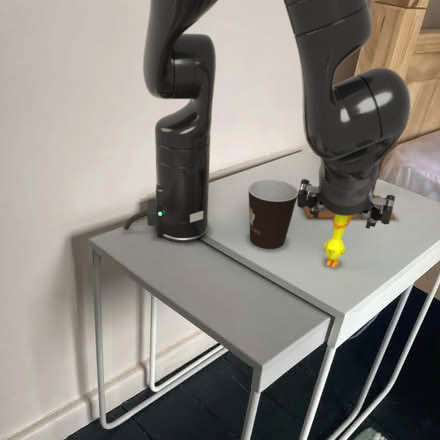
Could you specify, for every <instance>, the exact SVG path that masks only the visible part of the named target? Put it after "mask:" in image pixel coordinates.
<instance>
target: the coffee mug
mask: <svg viewBox="0 0 440 440" xmlns="http://www.w3.org/2000/svg"><path fill="white" fill-rule="evenodd" d="M298 192H299V189H297V188H296V187H295V186H294V185H292V184H291V183H288V182H286V181H281V180H275V179H263V180H257V181H254V182H252V183H251V184H249V186H248V212H249V213H248V217H249V241H250V243H251V244H252V245H253V246H255V247H257V248H260V249H263V250H277V249H280V248H281V247H284V245H285V243H286V239H287V236H288V232H289V228H290V226H291V225H290V224H291V221H292V217H293V214H294V210H295V206H296V203H297V200H298Z"/></svg>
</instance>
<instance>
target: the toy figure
mask: <svg viewBox="0 0 440 440" xmlns="http://www.w3.org/2000/svg"><path fill="white" fill-rule="evenodd" d="M351 217H352V216H351V215H348V216H343V215H337V214H335V217H334V218H333V219H332V224H333V225H332V237H331V238H329V239H328V240H327V241H325V242H324V244H323V250H324V252H325V254H326V257H327V260H326V266H328V267H329V266H331V268H335V267H337V266H338V265H339V258H340V257H342V256H344V255H345V253H346V250H347V248H346V247H345V243H344V241H343V240H342V239H343V235H344V234H345V231H346V228H347V227H348V226H349V224H350V222H351V220H352V219H351Z"/></svg>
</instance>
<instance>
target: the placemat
mask: <svg viewBox="0 0 440 440" xmlns="http://www.w3.org/2000/svg"><path fill="white" fill-rule="evenodd" d="M375 197H376V198H380V199H382V197H381V196H380V195H375ZM302 209H303V211H304V213H305V216H306V218H307V219H308V220H333V218H334V217H335V213H332V212H331V211H326V212H321V211H320V212H319V216H318V218H314V217H313V215H312V214H310V210H309V207H307V206H305V208H302ZM351 216H352V217H351V220H360V219H359V218H358V217H356V216H355V215H351ZM393 220H396V217H395V215H394V214H393V212H392V213H391V218H390V221H393Z"/></svg>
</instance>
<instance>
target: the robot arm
mask: <svg viewBox="0 0 440 440" xmlns="http://www.w3.org/2000/svg"><path fill="white" fill-rule="evenodd" d="M149 1H150V2H149V3H150V4H149V13H148V21H147V27H146V34H145V41H144V49H143V56H142V74H143V81H144V84H145V87H146V89H147V91H148V93H149V95H151V96H152V97H154V98H157V99H159V100H189V101H188V102H187V103H186V105H184V106H183V107H182V108H180V109H179V110H177V111H175V112H173V113H171V114H167V115H165V116H163V117H161V118H160V119H159V120H157V122H155V127H154V142H155V143H154V144H155V145H154V146H155V175H156V177H155V179H156V184H155V199H154V198H153V199H149V198H148V202H147V209H146V210H144V211H142V212H138V213H135V214H134V215H132V216H131V217H129V218H128V219H127V221H126V222H125V224H124V225H123V229H124V230H126V231H128V230H129V228H130V227H131V226H132V224H133V223H134V222H135V221H138V220H139V219H141V218H144V217H147V226H149V227H150V226H154V227H156V236H157V238H159V239H161V238H162V239H166V240H168V241H172V242H175V243H190V242H195V241H198V240H200V239H202V238H204V237H205V236H206V235H207V234H208V231H209V229H208V228H209V225H208V223H209V220H208V219H209V218H208V215H209V193H210V192H209V190H210V189H209V188H210V163H211V162H210V161H211V159H210V158H211V137H212V136H211V135H212V134H211V132H212V123H213V121H212V120H213V119H212V118H213V105H214V104H213V103H214V94H215V93H214V92H215V84H216V83H215V82H216V72H217V71H216V70H217V67H216V66H217V55H216V48H215V44H214V41H213V40H212V38H211V37H210V36H209V35H207V34H204V33H203V34H202V33H185V32H186V31H187V30H189V29H190V28H191V27H192V26H193V25H195V24H196V23H197V22H198V21H199V20H200V19H202V18H203V17H204V16H205V15H206V14H207V13H209V11H210V10H211V9H212V8H213V7H214V6H215V5H216V4H217V2H218V1H219V0H149ZM282 2H283V4H284V7H285V12H286V15H287V17H288V21H289V24H290V27H291V28H290V29H291V31H292V34H293V38H294V41H295V45H296V48H297V53H298V54H297V55H298V60H299V66H300V75H301V90H302V91H301V92H302V93H301V94H302V97H301V98H302V99H301V100H302V101H301V102H302V104H301V105H302V126H303V127H302V128H303V134H304V136H305V140H306V142H307V145H308V146H309V148H310V149H311V151H312V152H313V153H314V154H315V155H316V156H317V157H318V158H320V164H319V168H318V186H315V185H313V184H312V183H310V180H309V179H306V178H303V179H302V178H301V181H300V185H299V188H298V196H297V200H296V203H297V207H298V208H300V209H301V208H302V209H303V208H305V206H307V207H309V210H310V214H312V215H313V217H314V218H318V216H319V212H320V211H321V212H326V211H331V212H332V213H335V214H337V215H343V216H348V215H355V216H356V217H358V218H359V219H358V220H360V221H364V220H366V224H365V229H368V230H369V229H371V227H372V228H374V227H376V225H377V223H378V222H379V221H380V223H381V224H383V225H390V222H391V220H390V218H391V213H392V214H393V209H394V204H395V200H396V196H395V195H393V194H387V195H386V197H382V198H381V199H380V198H376V197H375V196H376V194H375V193H374V192H375V189H376V185H377V181H378V179H379V165H380V161H381V160H382V159H383V158H384V157H385V156H386V155H387V154H388V153H389V151H390V150H391V149H392V148H393V147H394V146H395V144H396V143H397V142H398V141H399V140H400V139H401V137H402V135H403V133H405V130H406V128H407V126H408V122H409V120H410V114H411V103H412V102H411V95H410V91H409V88H408V85H407V83H406V81H405V80H404V79H403V77H402V76H401V75H400V74H398V73H399V72H398V73H397V72H396V71H394V70H393V69H391V68H388V67H382V66H381V67H373V68H370V69H367V70H364V71H363V72H361V73H357V74H355V75H354V76H351V77H349V78H347V79H344V80H343V81H340V82H338V83H336V84H333V83H334V78H335V74H336V71H337V69H339V66H340V65H341V64H342V63H343V62H344V61H345V60H347V58H349V57H350V56H351V55H354V53H356V52H357V51H358V50H360V49H361V48H362V47H363V46H364V45H365V44H367V43H368V42H369V40H370V39H371V37H372V33H373V23H372V21H373V20H372V16H371V11H370V7H369V4H368V0H283V1H282Z"/></svg>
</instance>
